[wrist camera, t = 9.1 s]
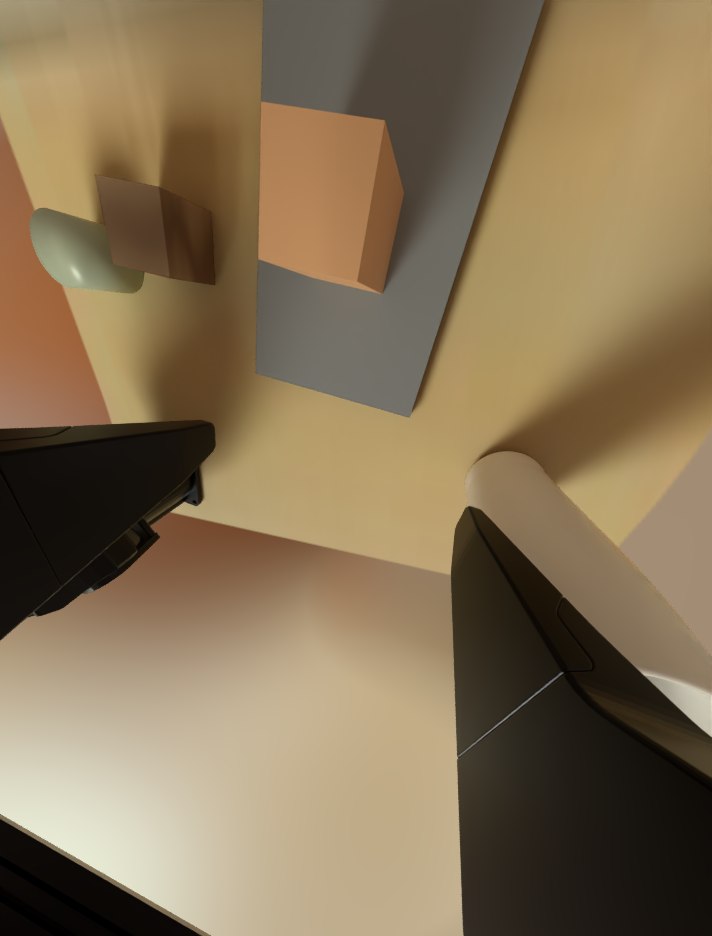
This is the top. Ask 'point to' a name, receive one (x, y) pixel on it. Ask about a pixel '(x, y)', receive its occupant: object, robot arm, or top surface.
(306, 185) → the terracotta block
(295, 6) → the slate mat
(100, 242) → the sage cylinder
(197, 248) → the walnut block
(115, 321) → the top surface
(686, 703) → the drinking glass
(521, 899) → the robot arm
